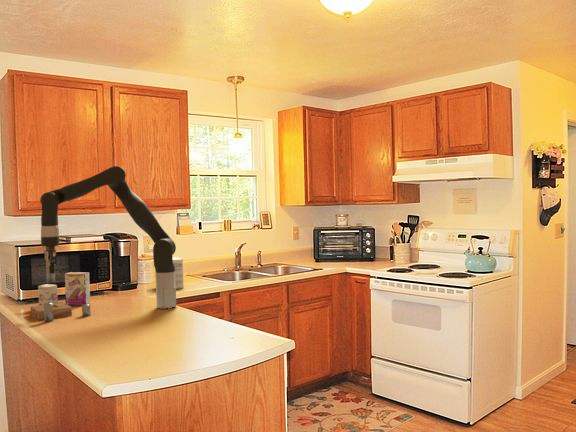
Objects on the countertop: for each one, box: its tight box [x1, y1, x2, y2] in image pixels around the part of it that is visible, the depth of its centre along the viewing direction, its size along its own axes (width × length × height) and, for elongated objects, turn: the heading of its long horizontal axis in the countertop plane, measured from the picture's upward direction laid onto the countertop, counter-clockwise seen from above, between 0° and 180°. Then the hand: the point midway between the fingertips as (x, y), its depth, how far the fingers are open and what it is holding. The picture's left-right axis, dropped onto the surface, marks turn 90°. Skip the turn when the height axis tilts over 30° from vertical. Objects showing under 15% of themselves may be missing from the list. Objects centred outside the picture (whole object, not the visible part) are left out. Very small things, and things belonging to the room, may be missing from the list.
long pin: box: [45, 256, 56, 284], centre depth 233 cm, size 4×4×12 cm
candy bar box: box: [64, 271, 91, 306], centre depth 260 cm, size 11×5×16 cm, turn 84°
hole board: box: [30, 301, 73, 322], centre depth 235 cm, size 16×14×4 cm
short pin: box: [81, 303, 92, 318], centre depth 232 cm, size 4×4×5 cm
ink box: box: [37, 283, 59, 305], centre depth 251 cm, size 9×5×12 cm, turn 62°
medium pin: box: [43, 302, 54, 323], centre depth 222 cm, size 4×4×8 cm
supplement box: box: [173, 256, 184, 290], centre depth 307 cm, size 13×13×18 cm
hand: (50, 272), depth 233 cm, fingers closed on long pin, 3 cm apart
